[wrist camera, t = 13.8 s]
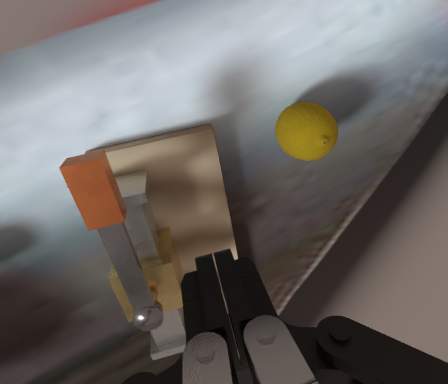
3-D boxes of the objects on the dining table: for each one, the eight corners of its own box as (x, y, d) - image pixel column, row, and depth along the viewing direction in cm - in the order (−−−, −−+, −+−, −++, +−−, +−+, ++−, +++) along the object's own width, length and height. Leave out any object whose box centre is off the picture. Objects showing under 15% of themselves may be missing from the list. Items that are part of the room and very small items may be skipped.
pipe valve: (194, 309, 41) (202, 365, 34) (150, 322, 40) (148, 381, 33) (150, 167, 31) (148, 204, 24) (91, 181, 30) (71, 223, 23)
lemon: (283, 155, 35) (314, 183, 28) (256, 120, 33) (282, 141, 26) (321, 123, 34) (363, 144, 27) (296, 84, 32) (335, 96, 25)
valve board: (243, 297, 44) (247, 308, 42) (155, 322, 43) (155, 334, 41) (210, 123, 32) (213, 128, 30) (86, 151, 31) (81, 158, 29)
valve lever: (166, 313, 29) (166, 328, 27) (139, 320, 29) (138, 336, 27) (104, 149, 21) (100, 158, 20) (66, 158, 21) (59, 167, 19)
